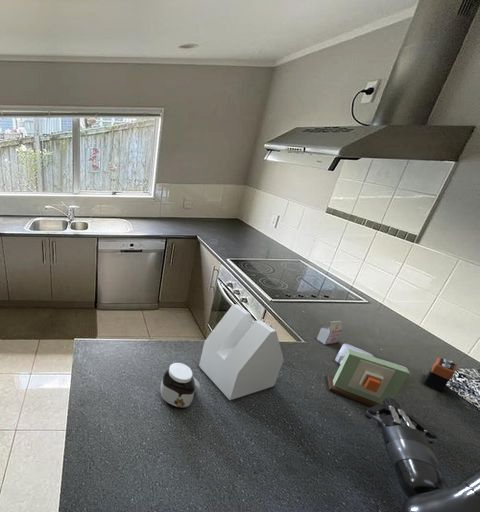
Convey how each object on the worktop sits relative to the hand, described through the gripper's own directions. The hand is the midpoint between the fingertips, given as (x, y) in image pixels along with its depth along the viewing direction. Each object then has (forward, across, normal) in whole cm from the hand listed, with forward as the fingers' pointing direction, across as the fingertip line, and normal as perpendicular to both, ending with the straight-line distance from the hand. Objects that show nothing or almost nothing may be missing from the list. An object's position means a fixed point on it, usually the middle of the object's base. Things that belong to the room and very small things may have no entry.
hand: (389, 400), depth 75 cm
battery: (+40, -24, +14) cm, 48 cm away
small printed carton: (+47, +6, +14) cm, 49 cm away
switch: (+12, 0, +6) cm, 14 cm away
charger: (+33, 0, +14) cm, 35 cm away
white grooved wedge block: (+2, +36, +14) cm, 39 cm away
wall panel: (+17, 0, +14) cm, 21 cm away
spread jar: (-18, +50, +14) cm, 55 cm away
